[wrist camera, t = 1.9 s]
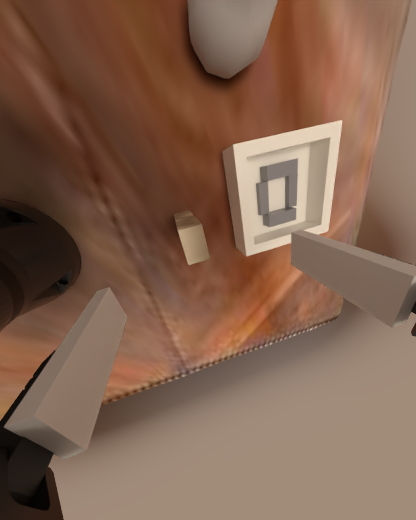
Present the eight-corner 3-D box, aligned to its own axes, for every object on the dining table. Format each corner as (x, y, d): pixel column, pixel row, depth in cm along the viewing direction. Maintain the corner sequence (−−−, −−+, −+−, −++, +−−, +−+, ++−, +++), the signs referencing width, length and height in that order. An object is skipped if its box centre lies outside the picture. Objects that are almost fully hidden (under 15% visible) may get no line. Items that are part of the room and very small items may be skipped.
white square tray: (236, 247, 31) (246, 256, 27) (221, 151, 24) (233, 144, 20) (308, 225, 32) (328, 231, 28) (315, 130, 26) (342, 120, 22)
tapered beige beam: (180, 237, 28) (188, 265, 18) (173, 214, 26) (177, 230, 16) (194, 233, 28) (209, 258, 18) (188, 210, 26) (201, 224, 16)
